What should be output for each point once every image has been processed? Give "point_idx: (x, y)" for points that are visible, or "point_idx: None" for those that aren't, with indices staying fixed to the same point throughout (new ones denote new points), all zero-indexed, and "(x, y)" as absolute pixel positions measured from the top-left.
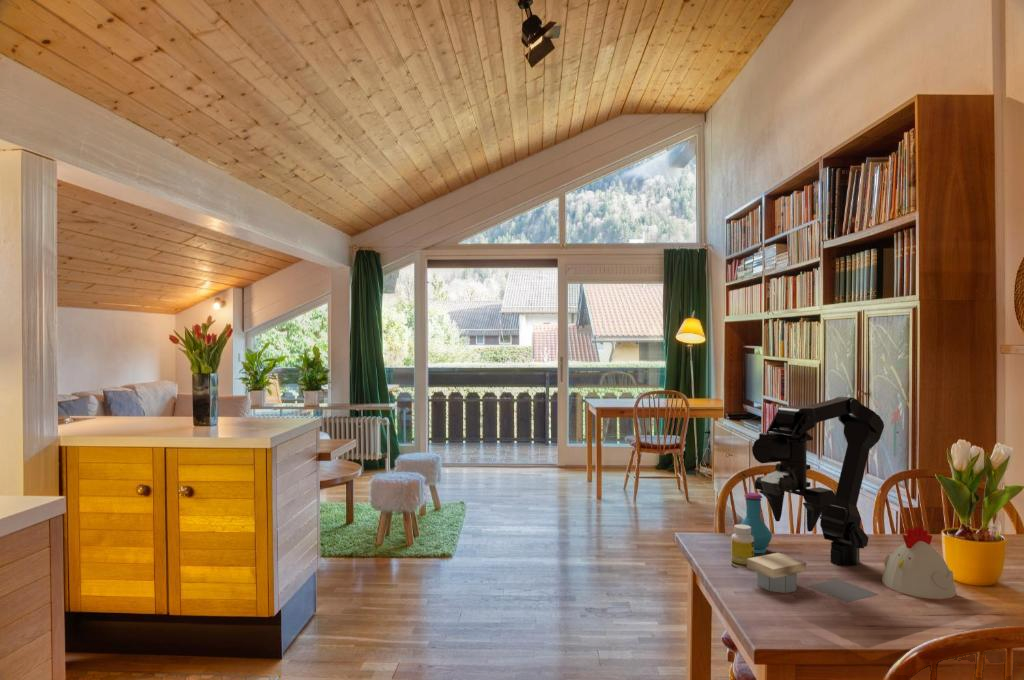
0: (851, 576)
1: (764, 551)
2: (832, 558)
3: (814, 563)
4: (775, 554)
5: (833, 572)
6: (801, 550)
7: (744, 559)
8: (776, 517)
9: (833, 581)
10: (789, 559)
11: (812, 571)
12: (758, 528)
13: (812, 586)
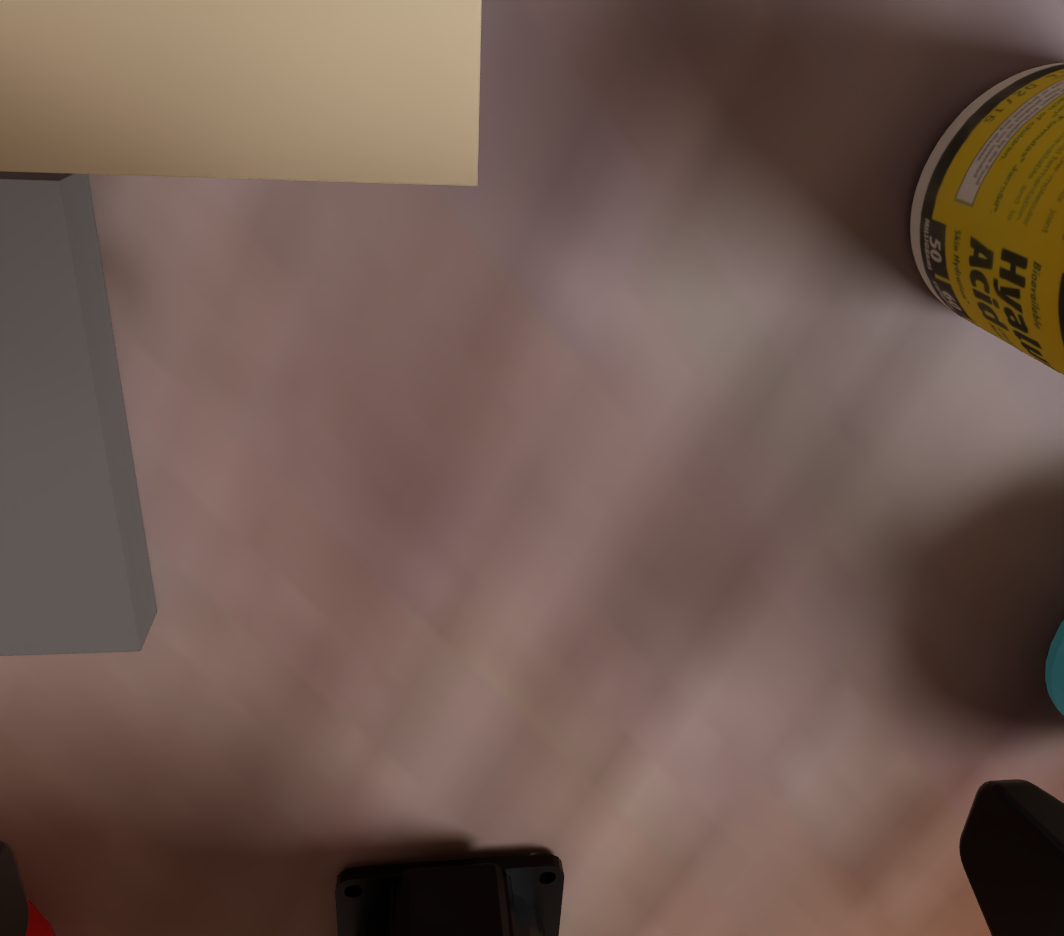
0: (285, 847)
1: (1055, 670)
2: (481, 922)
3: (639, 817)
4: (424, 20)
5: (417, 798)
6: (874, 922)
7: (1015, 128)
8: (1049, 848)
9: (83, 561)
10: (68, 13)
11: (519, 677)
12: None
13: (6, 220)
